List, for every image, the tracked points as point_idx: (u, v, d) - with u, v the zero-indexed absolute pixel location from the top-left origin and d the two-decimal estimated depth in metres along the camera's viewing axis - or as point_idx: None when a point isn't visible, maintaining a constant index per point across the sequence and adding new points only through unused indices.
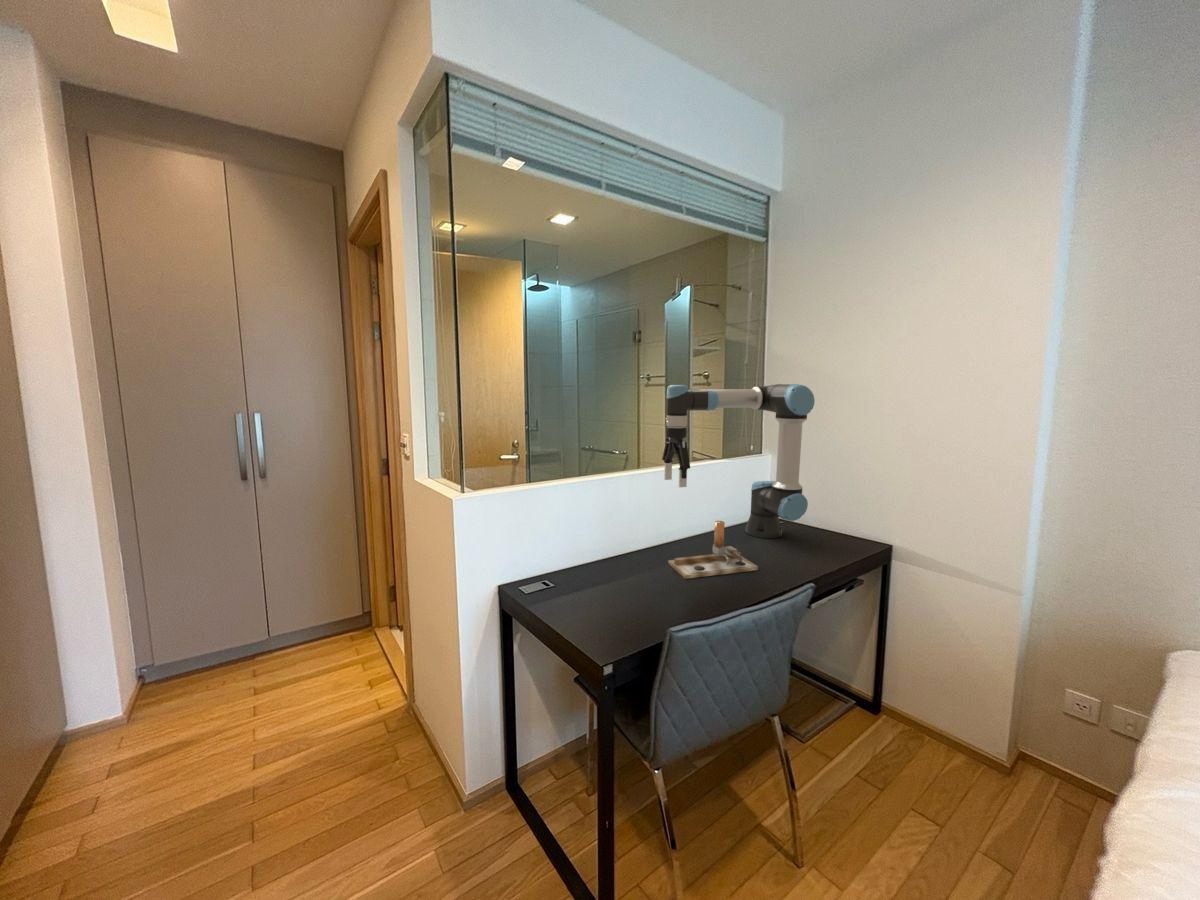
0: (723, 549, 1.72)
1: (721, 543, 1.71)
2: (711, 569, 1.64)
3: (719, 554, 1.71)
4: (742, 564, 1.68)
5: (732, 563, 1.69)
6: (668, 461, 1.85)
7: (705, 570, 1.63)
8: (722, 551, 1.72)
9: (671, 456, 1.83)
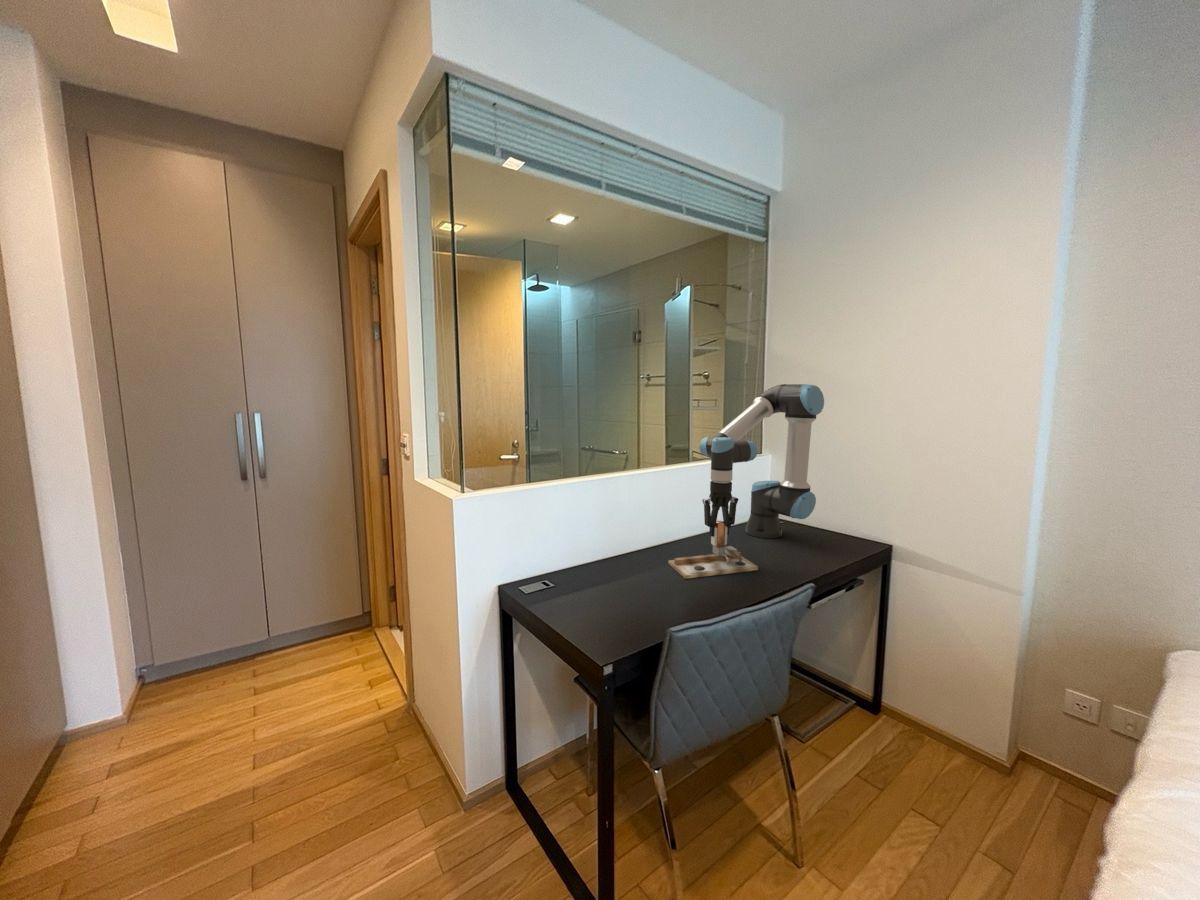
0: (723, 549, 1.72)
1: (721, 543, 1.71)
2: (711, 569, 1.64)
3: (719, 554, 1.71)
4: (742, 564, 1.68)
5: (732, 563, 1.69)
6: (725, 524, 1.73)
7: (705, 570, 1.63)
8: (722, 551, 1.72)
9: (725, 516, 1.72)
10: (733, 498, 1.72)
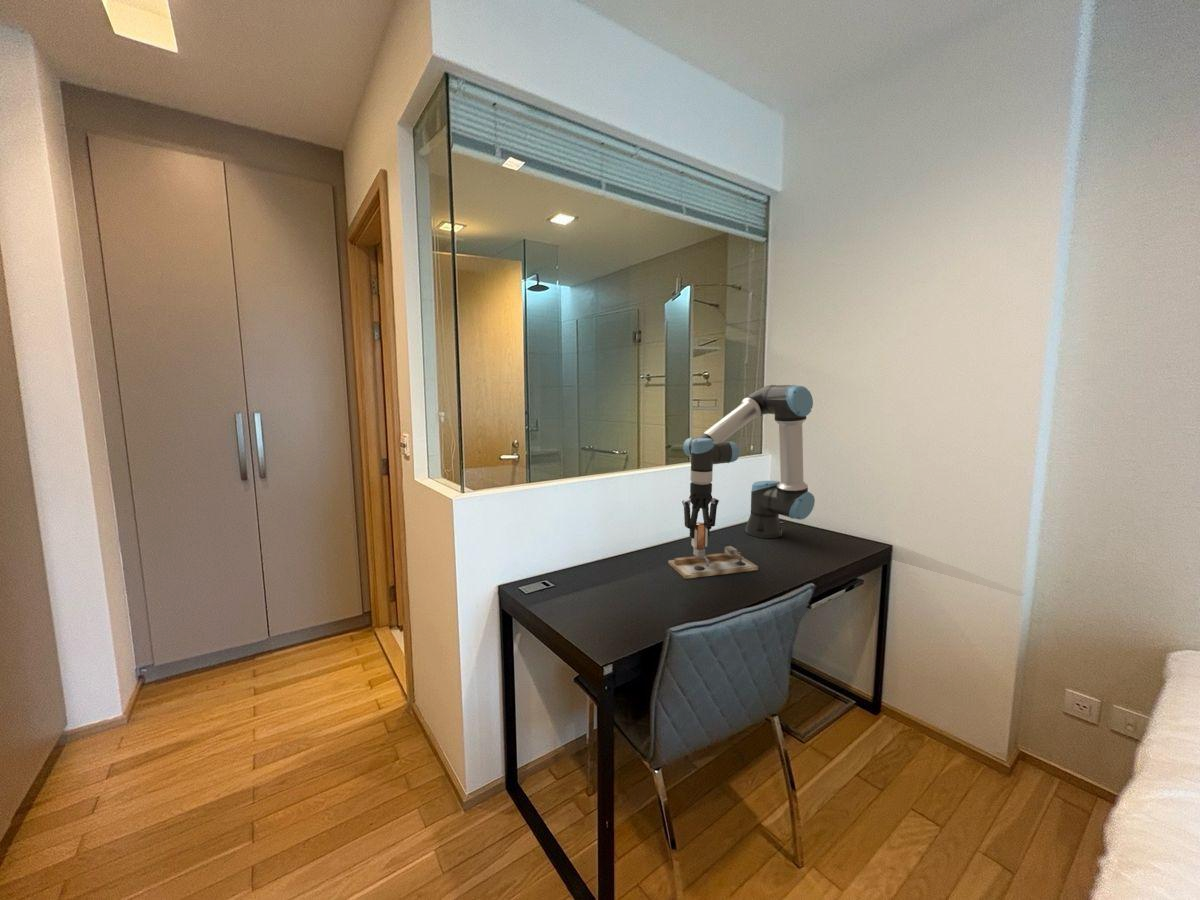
0: (703, 551, 1.70)
1: (701, 545, 1.69)
2: (711, 569, 1.64)
3: (699, 556, 1.69)
4: (742, 564, 1.68)
5: (732, 563, 1.69)
6: (706, 525, 1.70)
7: (705, 570, 1.63)
8: (702, 553, 1.70)
9: (705, 518, 1.70)
10: (713, 499, 1.70)
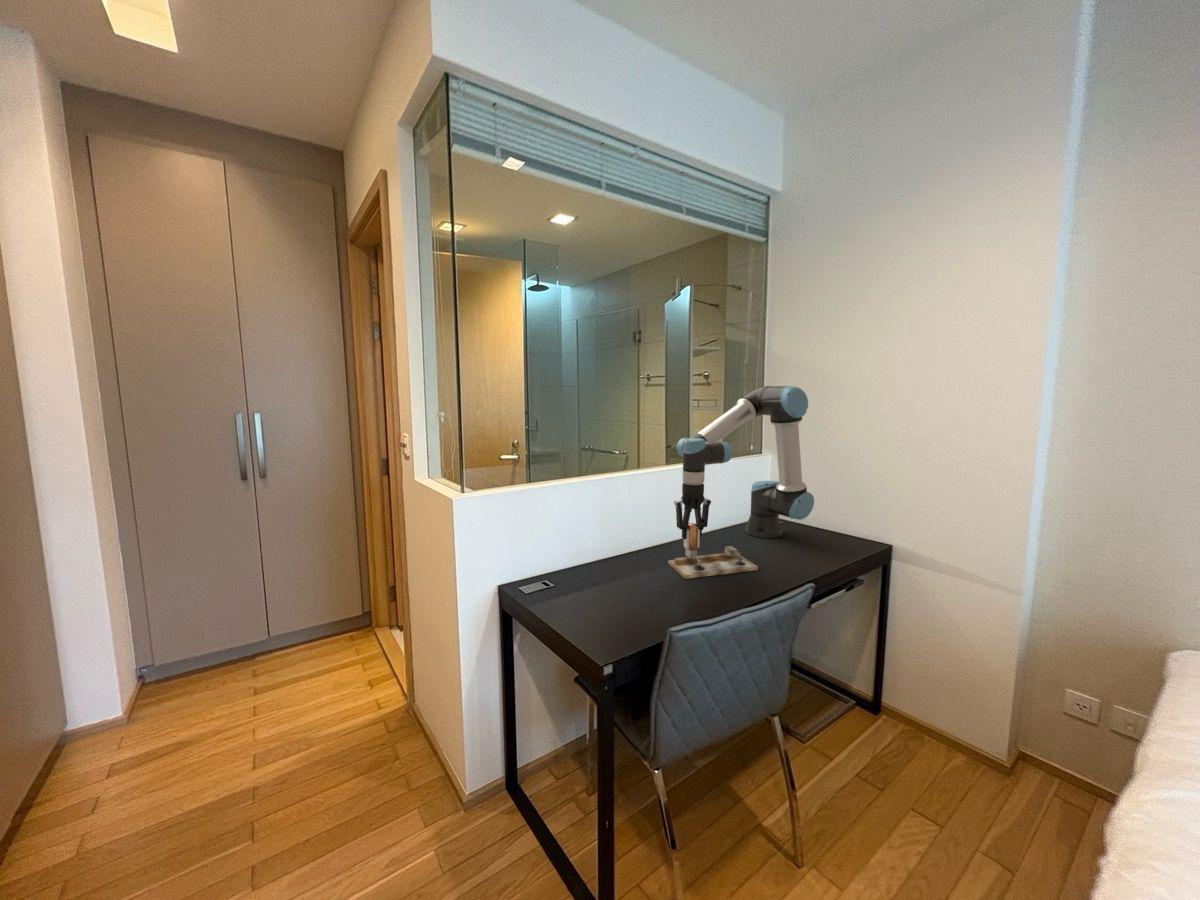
0: (695, 552, 1.69)
1: (693, 546, 1.69)
2: (711, 569, 1.64)
3: (691, 557, 1.69)
4: (742, 564, 1.68)
5: (732, 563, 1.69)
6: (698, 526, 1.70)
7: (705, 570, 1.63)
8: (694, 554, 1.69)
9: (697, 518, 1.69)
10: (706, 500, 1.69)
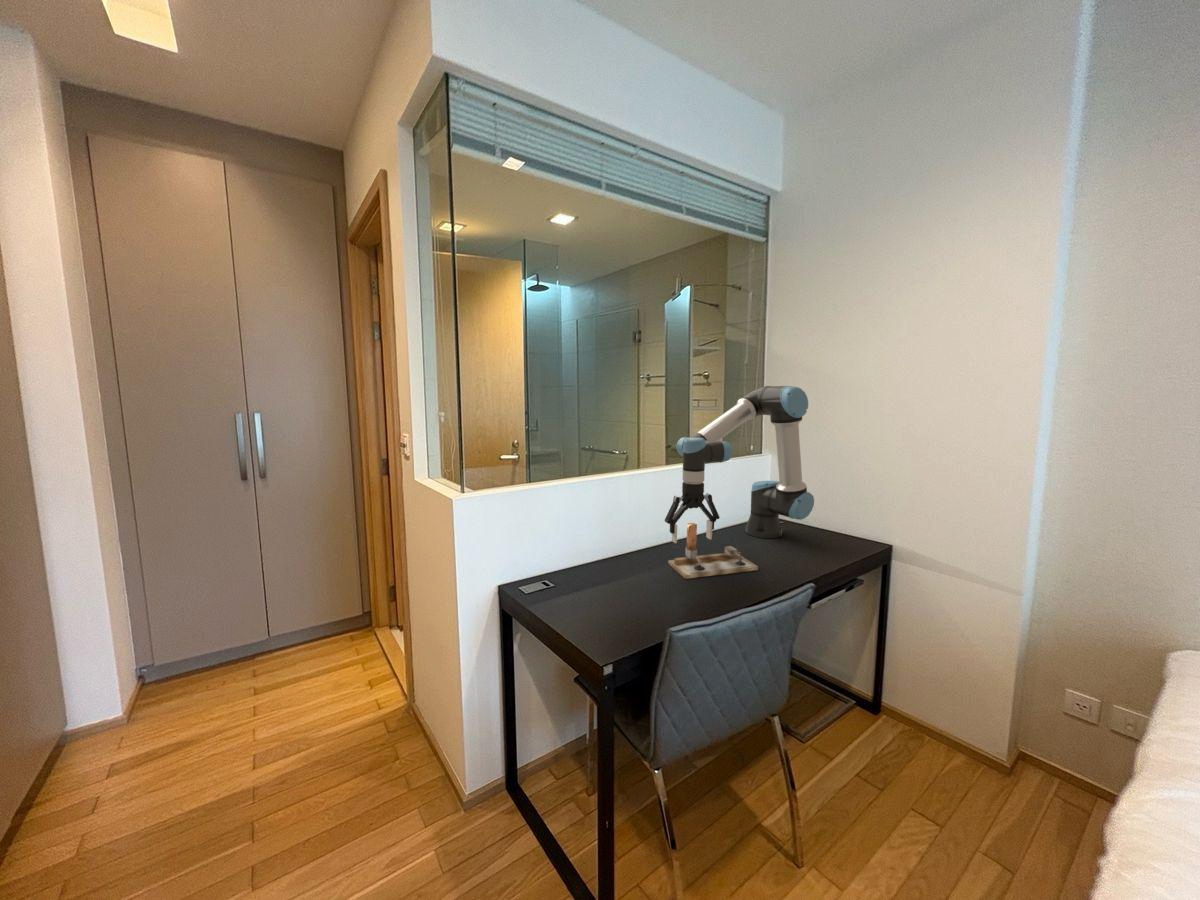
0: (695, 552, 1.69)
1: (693, 546, 1.69)
2: (711, 569, 1.64)
3: (691, 557, 1.69)
4: (742, 564, 1.68)
5: (732, 563, 1.69)
6: (710, 519, 1.71)
7: (705, 570, 1.63)
8: (694, 554, 1.69)
9: (706, 513, 1.69)
10: (706, 496, 1.69)
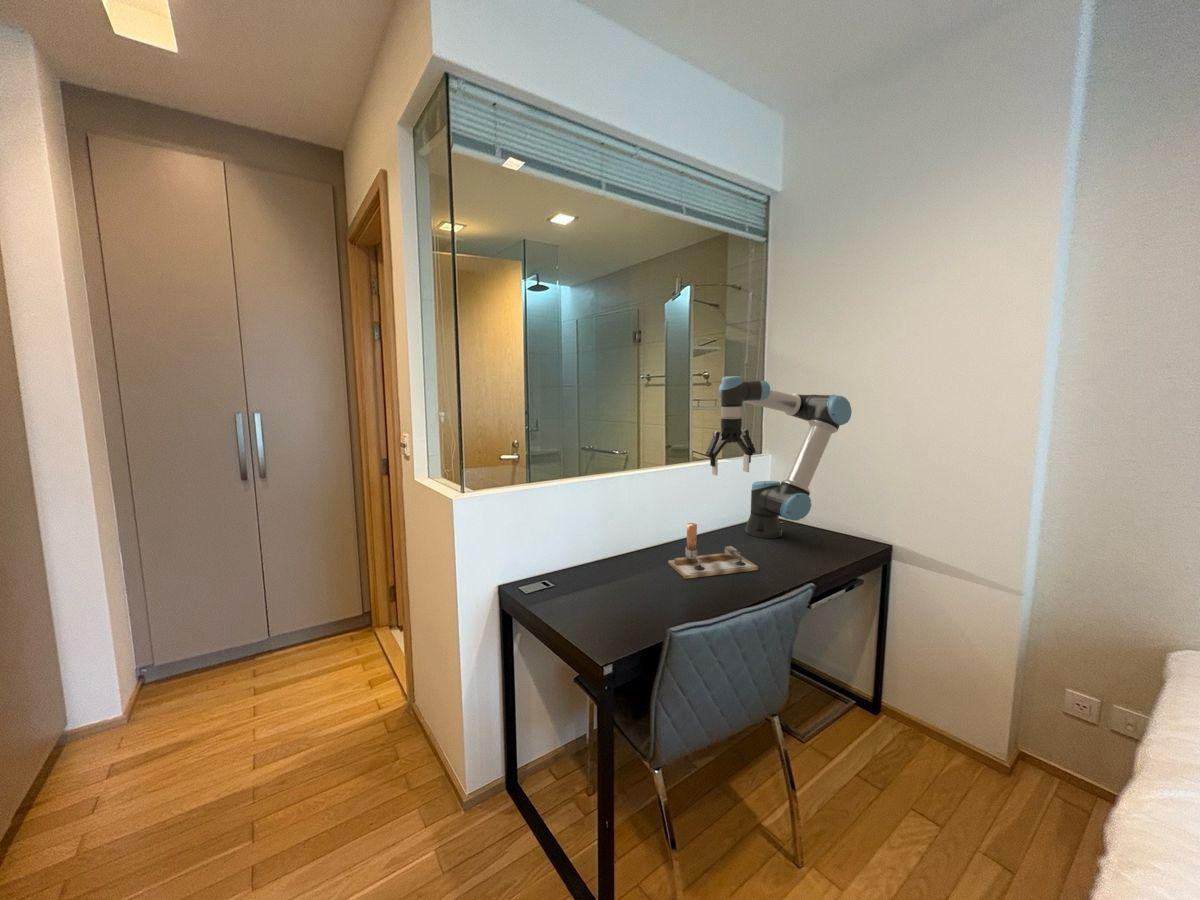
0: (695, 552, 1.69)
1: (693, 546, 1.69)
2: (711, 569, 1.64)
3: (691, 557, 1.69)
4: (742, 564, 1.68)
5: (732, 563, 1.69)
6: (747, 453, 1.83)
7: (705, 570, 1.63)
8: (694, 554, 1.69)
9: (743, 448, 1.81)
10: (743, 431, 1.81)
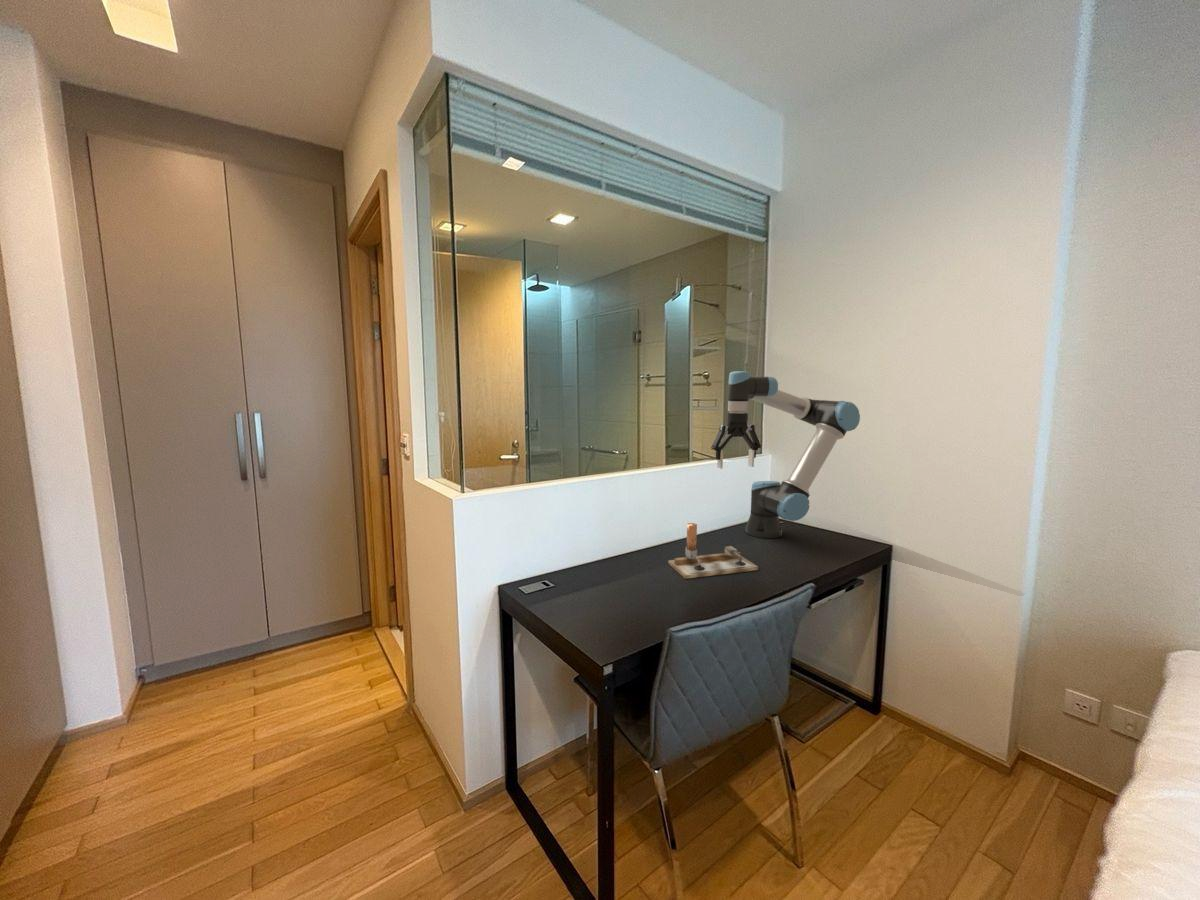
0: (695, 552, 1.69)
1: (693, 546, 1.69)
2: (711, 569, 1.64)
3: (691, 557, 1.69)
4: (742, 564, 1.68)
5: (732, 563, 1.69)
6: (752, 448, 1.85)
7: (705, 570, 1.63)
8: (694, 554, 1.69)
9: (748, 442, 1.84)
10: (749, 426, 1.83)
